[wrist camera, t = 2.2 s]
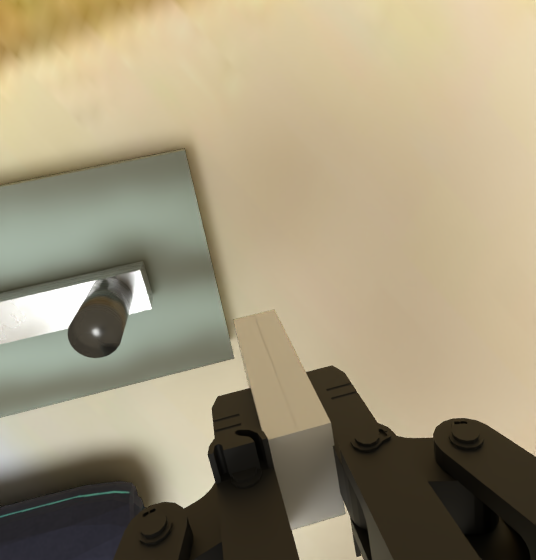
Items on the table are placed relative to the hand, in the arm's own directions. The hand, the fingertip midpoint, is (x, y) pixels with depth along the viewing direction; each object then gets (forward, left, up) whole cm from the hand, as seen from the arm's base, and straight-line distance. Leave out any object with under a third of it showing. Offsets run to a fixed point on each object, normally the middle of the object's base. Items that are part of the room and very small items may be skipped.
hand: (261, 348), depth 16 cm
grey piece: (0, +10, -13) cm, 16 cm away
